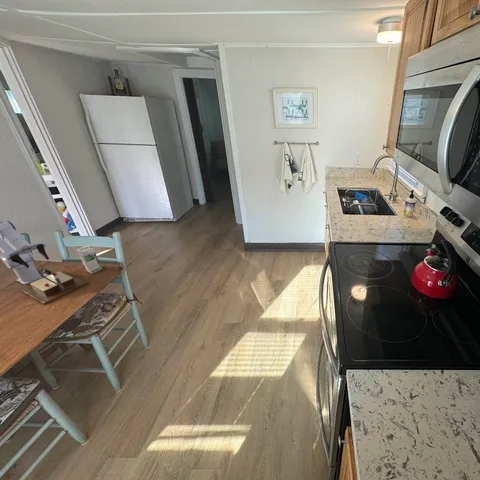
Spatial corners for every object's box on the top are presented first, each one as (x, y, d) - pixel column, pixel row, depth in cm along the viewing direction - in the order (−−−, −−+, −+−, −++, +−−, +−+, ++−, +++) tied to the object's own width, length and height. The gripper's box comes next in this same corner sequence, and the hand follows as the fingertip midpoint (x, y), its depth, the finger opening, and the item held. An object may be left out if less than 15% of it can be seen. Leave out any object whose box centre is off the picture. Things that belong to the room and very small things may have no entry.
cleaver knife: (41, 277, 138) (35, 267, 135) (46, 275, 139) (40, 265, 136) (56, 284, 132) (50, 274, 129) (60, 282, 133) (55, 272, 130)
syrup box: (91, 274, 148) (80, 251, 141) (86, 271, 151) (75, 248, 144) (103, 269, 152) (93, 247, 146) (98, 266, 155) (88, 244, 149)
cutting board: (21, 290, 135) (12, 277, 131) (64, 272, 150) (57, 259, 146) (44, 304, 126) (35, 290, 122) (87, 283, 140) (81, 270, 136)
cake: (32, 288, 135) (28, 280, 133) (61, 276, 145) (57, 268, 143) (46, 296, 130) (41, 288, 128) (75, 282, 139) (71, 275, 137)
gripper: (-5, 245, 121) (17, 266, 121) (36, 231, 132) (56, 251, 133) (-2, 252, 125) (19, 273, 126) (37, 239, 136) (56, 258, 137)
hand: (38, 262), depth 129 cm, fingers open, 7 cm apart
